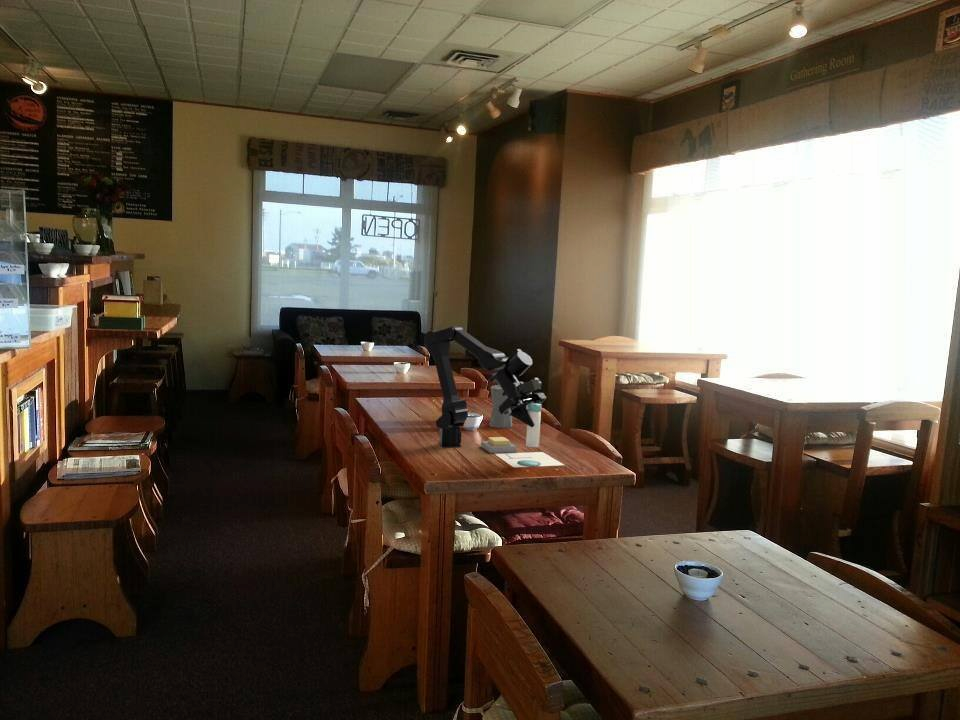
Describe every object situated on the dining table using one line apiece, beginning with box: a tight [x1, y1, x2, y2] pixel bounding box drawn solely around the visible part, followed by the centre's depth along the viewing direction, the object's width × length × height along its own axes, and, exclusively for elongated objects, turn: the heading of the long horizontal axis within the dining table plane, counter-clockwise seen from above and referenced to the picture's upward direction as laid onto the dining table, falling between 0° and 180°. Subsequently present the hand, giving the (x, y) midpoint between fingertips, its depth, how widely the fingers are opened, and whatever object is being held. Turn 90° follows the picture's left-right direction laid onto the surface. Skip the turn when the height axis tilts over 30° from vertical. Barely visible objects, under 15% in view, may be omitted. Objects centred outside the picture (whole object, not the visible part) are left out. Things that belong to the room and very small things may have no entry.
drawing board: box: [494, 451, 565, 468], centre depth 241 cm, size 18×18×1 cm
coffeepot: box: [488, 384, 513, 429], centre depth 294 cm, size 15×9×18 cm, turn 147°
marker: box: [525, 403, 542, 448], centre depth 235 cm, size 4×4×13 cm
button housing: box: [480, 440, 517, 454], centre depth 253 cm, size 9×9×2 cm
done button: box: [487, 436, 511, 446], centre depth 252 cm, size 5×5×2 cm
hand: (537, 425), depth 235 cm, fingers closed on marker, 4 cm apart
